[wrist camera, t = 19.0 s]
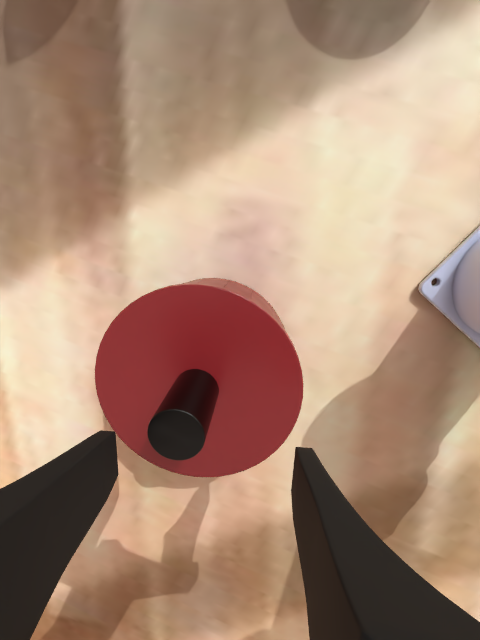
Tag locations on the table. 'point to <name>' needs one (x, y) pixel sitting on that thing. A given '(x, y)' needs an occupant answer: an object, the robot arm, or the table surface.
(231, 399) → the tin lid
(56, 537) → the robot arm
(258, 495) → the table surface
